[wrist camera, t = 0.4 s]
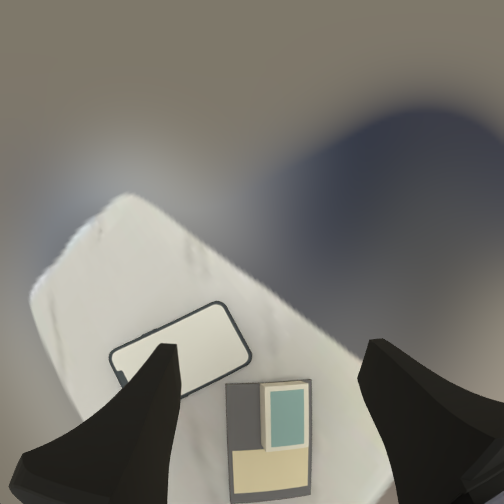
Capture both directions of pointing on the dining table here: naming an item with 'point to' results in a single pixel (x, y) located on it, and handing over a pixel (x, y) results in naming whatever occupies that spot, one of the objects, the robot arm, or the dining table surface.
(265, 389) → the card box
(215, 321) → the phone case
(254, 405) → the mat
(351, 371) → the dining table surface
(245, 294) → the dining table surface
